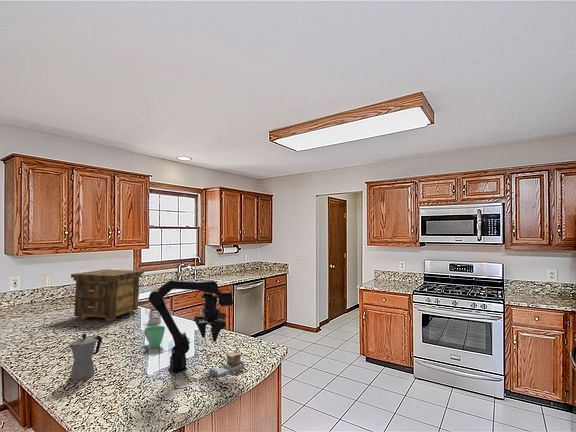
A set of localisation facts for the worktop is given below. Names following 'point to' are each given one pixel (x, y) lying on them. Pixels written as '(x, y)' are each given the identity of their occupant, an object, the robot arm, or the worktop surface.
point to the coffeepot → (84, 357)
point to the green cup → (154, 335)
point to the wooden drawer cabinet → (106, 293)
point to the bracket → (225, 369)
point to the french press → (151, 314)
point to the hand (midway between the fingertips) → (208, 339)
